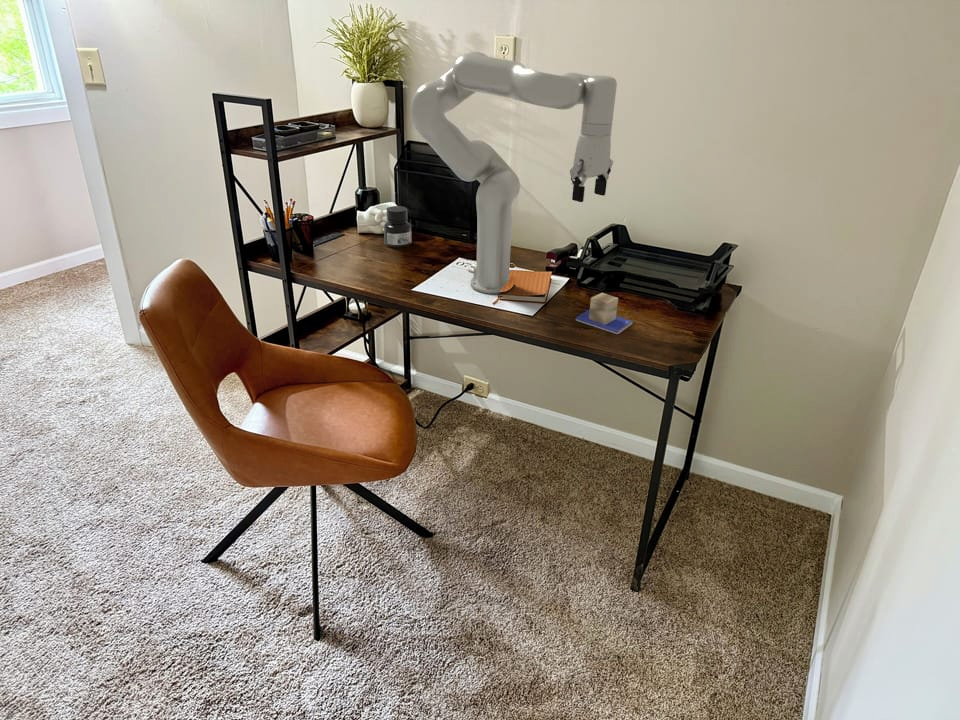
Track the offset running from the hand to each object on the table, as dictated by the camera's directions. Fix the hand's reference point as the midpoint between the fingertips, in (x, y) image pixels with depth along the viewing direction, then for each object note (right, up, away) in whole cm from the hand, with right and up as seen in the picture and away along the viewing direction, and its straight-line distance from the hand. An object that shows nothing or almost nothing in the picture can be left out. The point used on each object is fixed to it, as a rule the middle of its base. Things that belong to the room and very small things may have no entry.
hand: (588, 197), depth 175 cm
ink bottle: (-56, -4, +49) cm, 74 cm away
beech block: (+3, -32, -1) cm, 32 cm away
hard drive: (+4, -33, 0) cm, 34 cm away
